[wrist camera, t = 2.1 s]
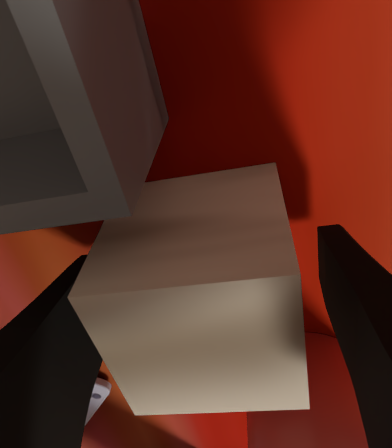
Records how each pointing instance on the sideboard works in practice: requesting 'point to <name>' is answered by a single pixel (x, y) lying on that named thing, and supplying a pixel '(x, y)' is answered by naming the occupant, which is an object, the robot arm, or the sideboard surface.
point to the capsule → (315, 406)
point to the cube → (199, 297)
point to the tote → (75, 111)
